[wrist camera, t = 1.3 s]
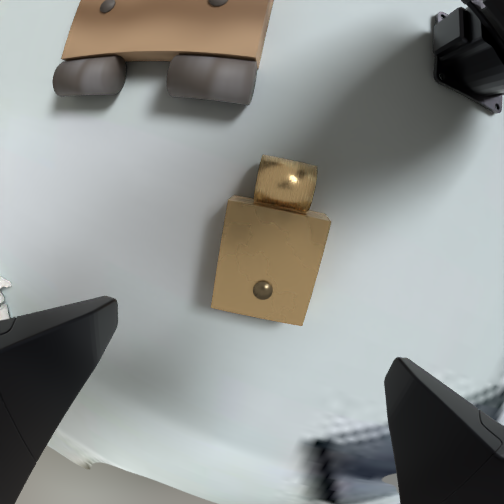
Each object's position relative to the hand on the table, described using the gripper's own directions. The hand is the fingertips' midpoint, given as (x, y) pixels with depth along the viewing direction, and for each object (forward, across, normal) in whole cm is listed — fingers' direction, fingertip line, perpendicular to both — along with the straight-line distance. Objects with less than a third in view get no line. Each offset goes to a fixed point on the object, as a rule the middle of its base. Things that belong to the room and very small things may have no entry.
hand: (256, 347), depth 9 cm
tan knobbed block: (+12, 0, 0) cm, 12 cm away
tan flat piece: (+12, +10, -13) cm, 21 cm away
